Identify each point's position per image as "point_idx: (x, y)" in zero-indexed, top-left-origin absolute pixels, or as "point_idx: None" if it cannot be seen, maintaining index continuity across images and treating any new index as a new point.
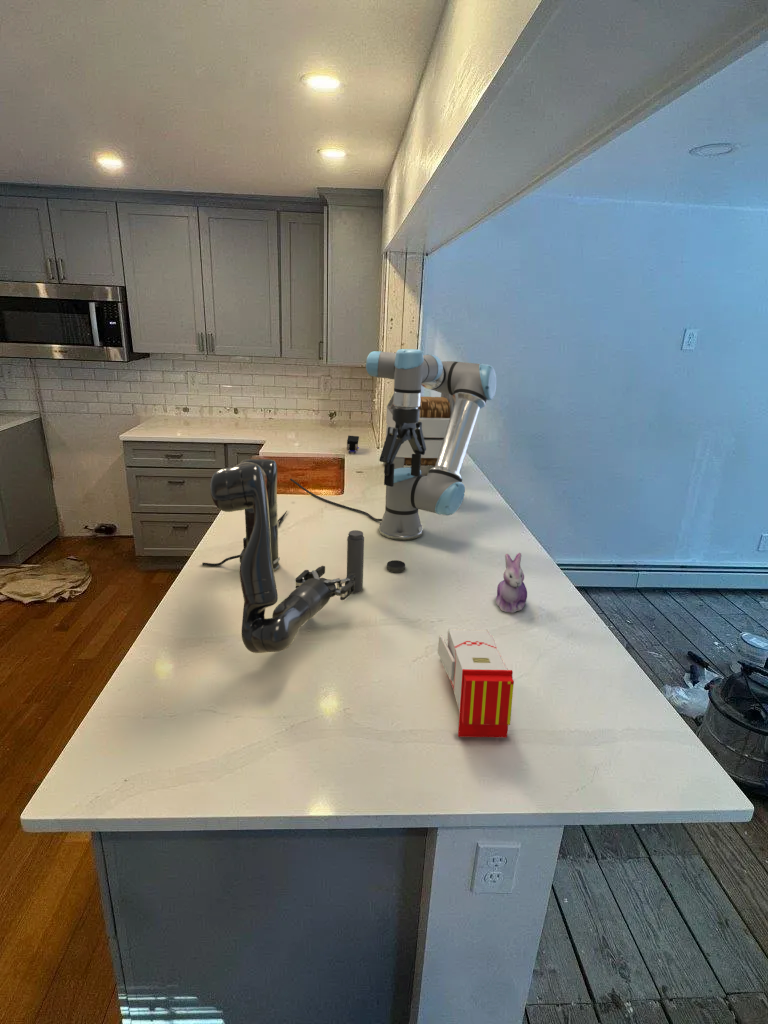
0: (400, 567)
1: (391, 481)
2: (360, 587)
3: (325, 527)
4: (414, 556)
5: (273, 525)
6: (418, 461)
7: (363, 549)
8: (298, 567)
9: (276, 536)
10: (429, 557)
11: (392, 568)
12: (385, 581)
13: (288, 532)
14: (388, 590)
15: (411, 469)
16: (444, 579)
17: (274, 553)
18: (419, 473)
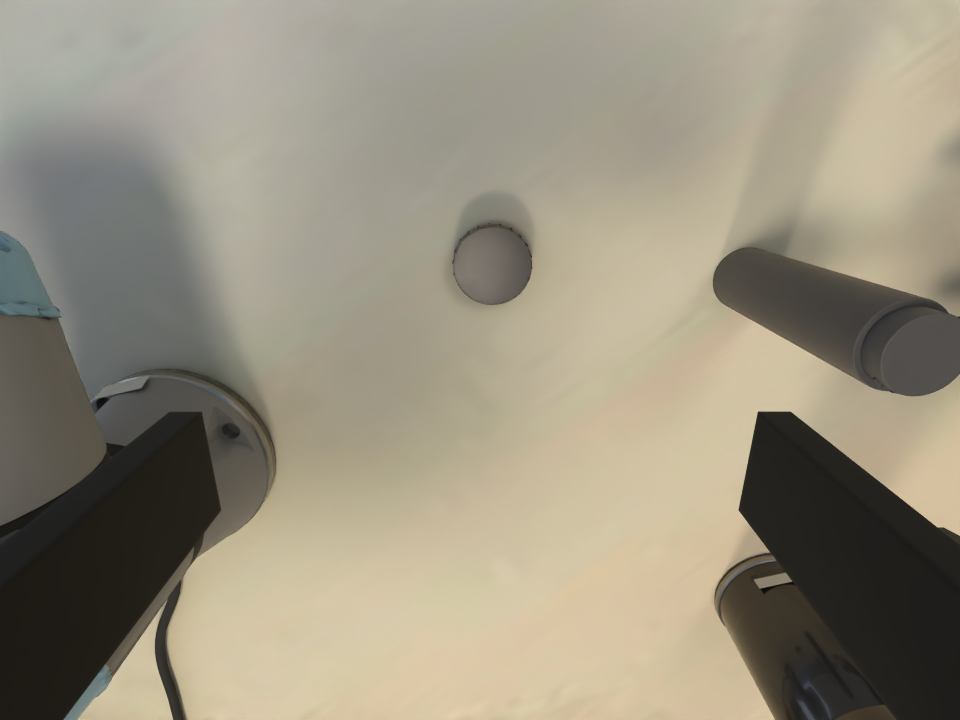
0: (508, 232)
1: (826, 452)
2: (761, 250)
3: (373, 656)
4: (335, 272)
5: (886, 708)
6: (51, 562)
7: (852, 285)
8: (701, 522)
9: (827, 659)
10: (294, 215)
11: (530, 257)
12: (616, 227)
13: (496, 703)
14: (678, 169)
15: (182, 553)
16: (437, 26)
17: (805, 602)
18: (154, 429)
